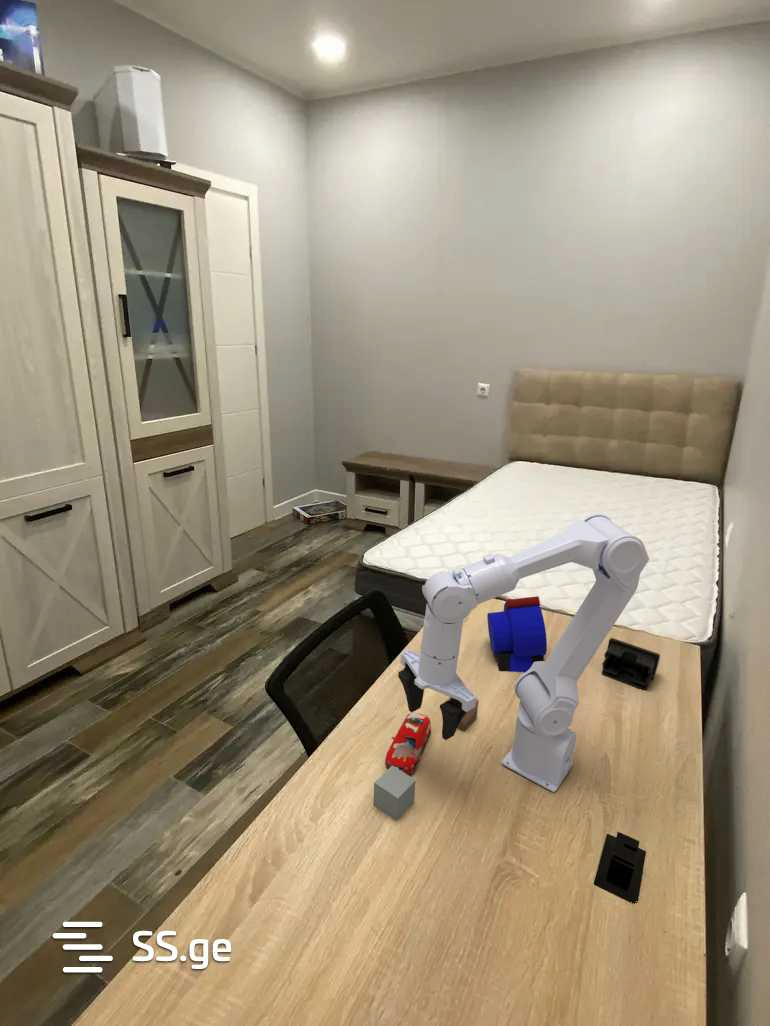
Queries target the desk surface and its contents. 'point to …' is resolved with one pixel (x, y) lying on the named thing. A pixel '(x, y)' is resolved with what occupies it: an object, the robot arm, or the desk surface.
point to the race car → (409, 743)
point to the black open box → (621, 867)
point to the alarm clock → (518, 634)
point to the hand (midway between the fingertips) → (431, 722)
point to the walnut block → (468, 717)
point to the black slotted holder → (630, 664)
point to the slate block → (394, 792)
